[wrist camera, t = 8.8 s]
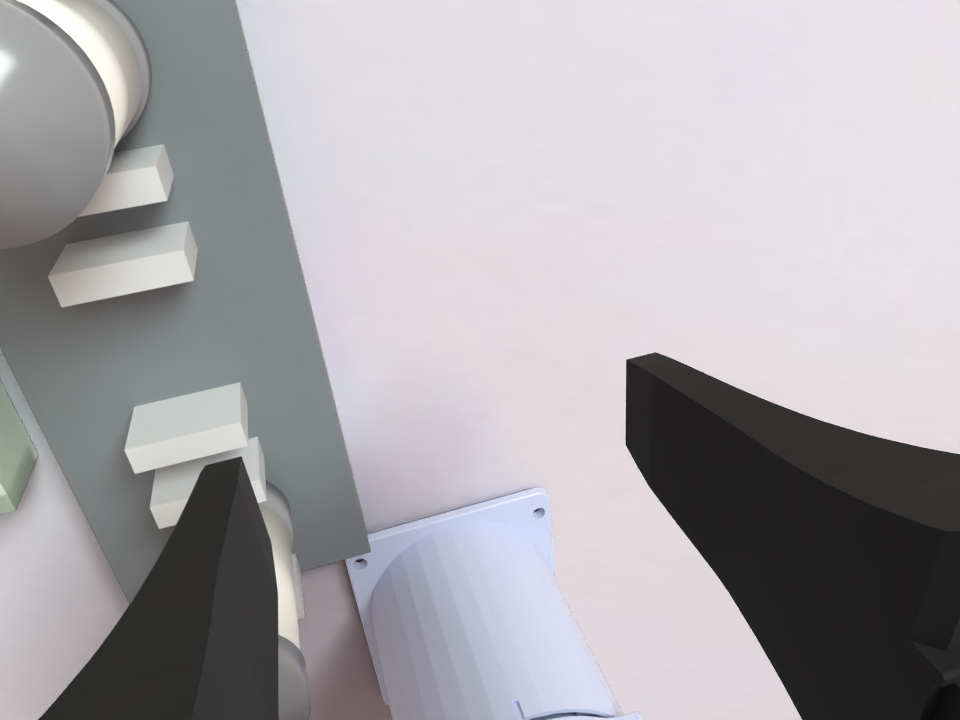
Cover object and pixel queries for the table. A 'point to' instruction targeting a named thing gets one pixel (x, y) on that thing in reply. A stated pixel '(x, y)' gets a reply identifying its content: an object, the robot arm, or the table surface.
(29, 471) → the tray
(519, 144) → the table surface
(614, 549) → the table surface
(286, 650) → the fuse
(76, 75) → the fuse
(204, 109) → the clip board
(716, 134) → the table surface
